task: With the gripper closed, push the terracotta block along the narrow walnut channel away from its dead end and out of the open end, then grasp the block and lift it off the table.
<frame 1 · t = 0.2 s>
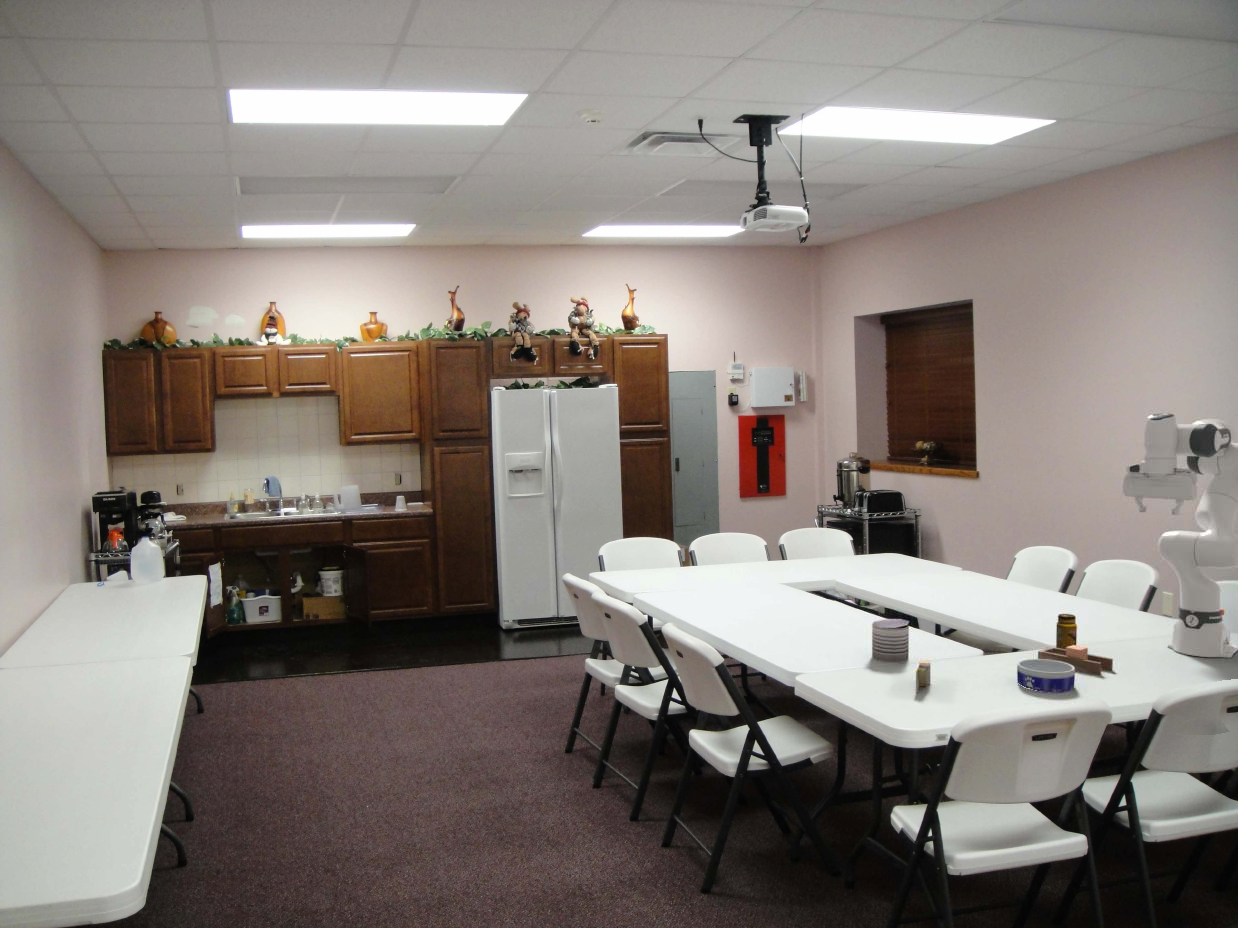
hand: (1158, 513, 298), 48 cm above the table, tool pointing down, fingers open, 8 cm apart
channel: (1082, 667, 303), on the table
model: (923, 690, 284), on the table
can: (890, 659, 317), on the table
dog bowl: (1045, 686, 285), on the table
condiment: (1063, 651, 323), on the table
block: (1076, 666, 305), resting in channel
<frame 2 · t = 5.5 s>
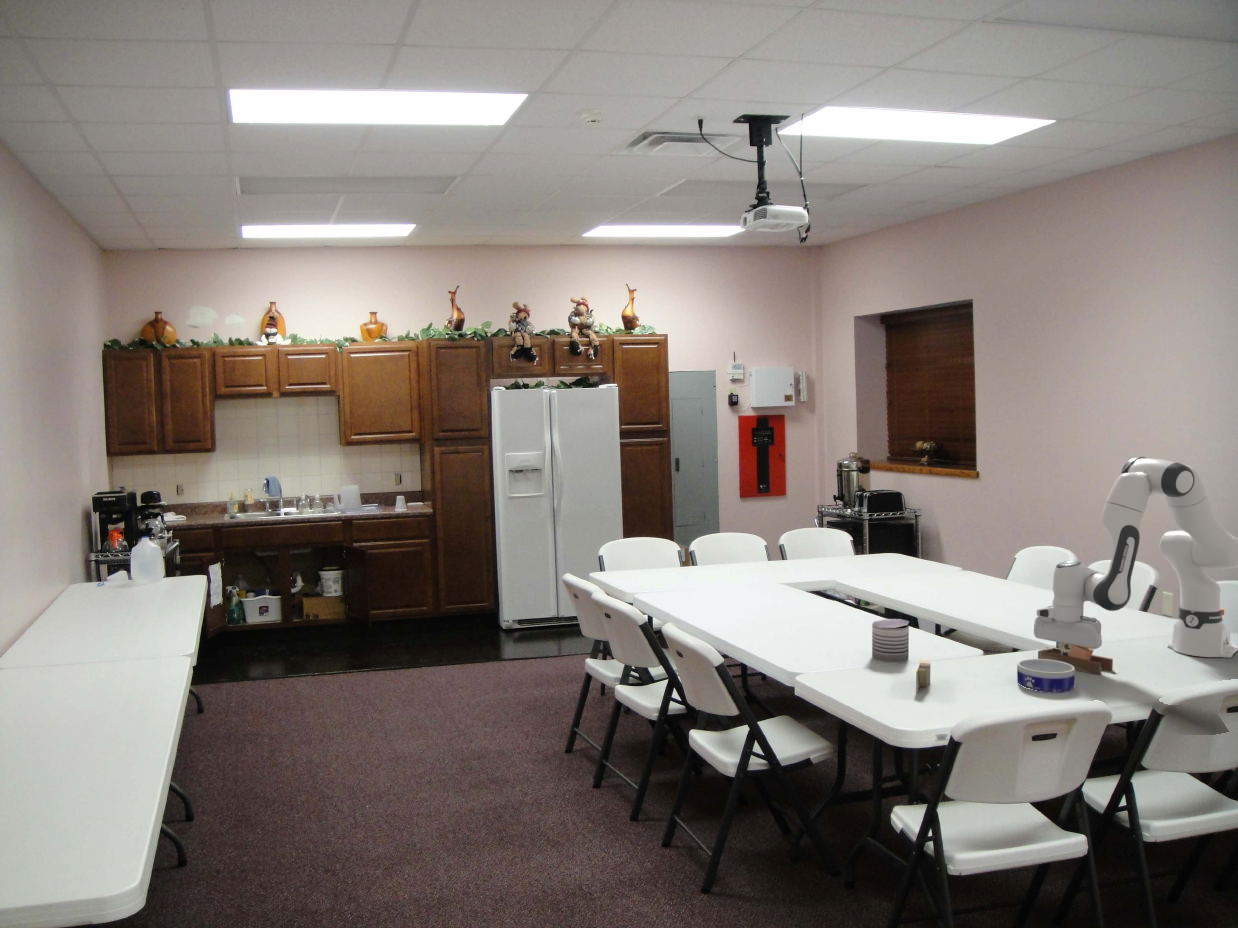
hand: (1066, 657, 307), 2 cm above the table, tool pointing down, fingers closed
block: (1076, 664, 304), point 1 cm above the table, tilted 18°, touching gripper
everything else where it was.
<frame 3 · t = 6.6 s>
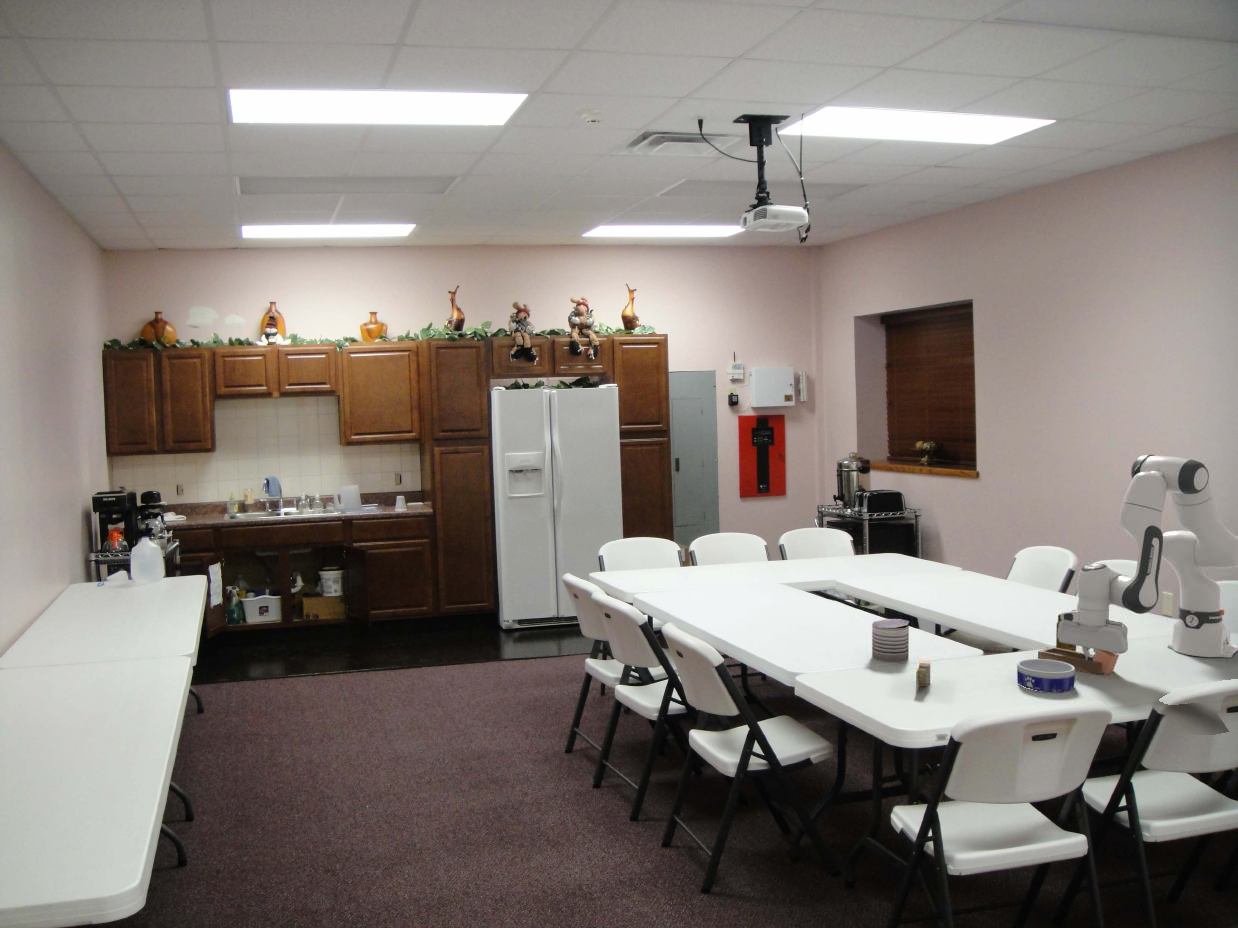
hand: (1091, 662, 301), 2 cm above the table, tool pointing down, fingers closed
block: (1101, 669, 298), point 1 cm above the table, tilted 18°, touching gripper
everything else where it was.
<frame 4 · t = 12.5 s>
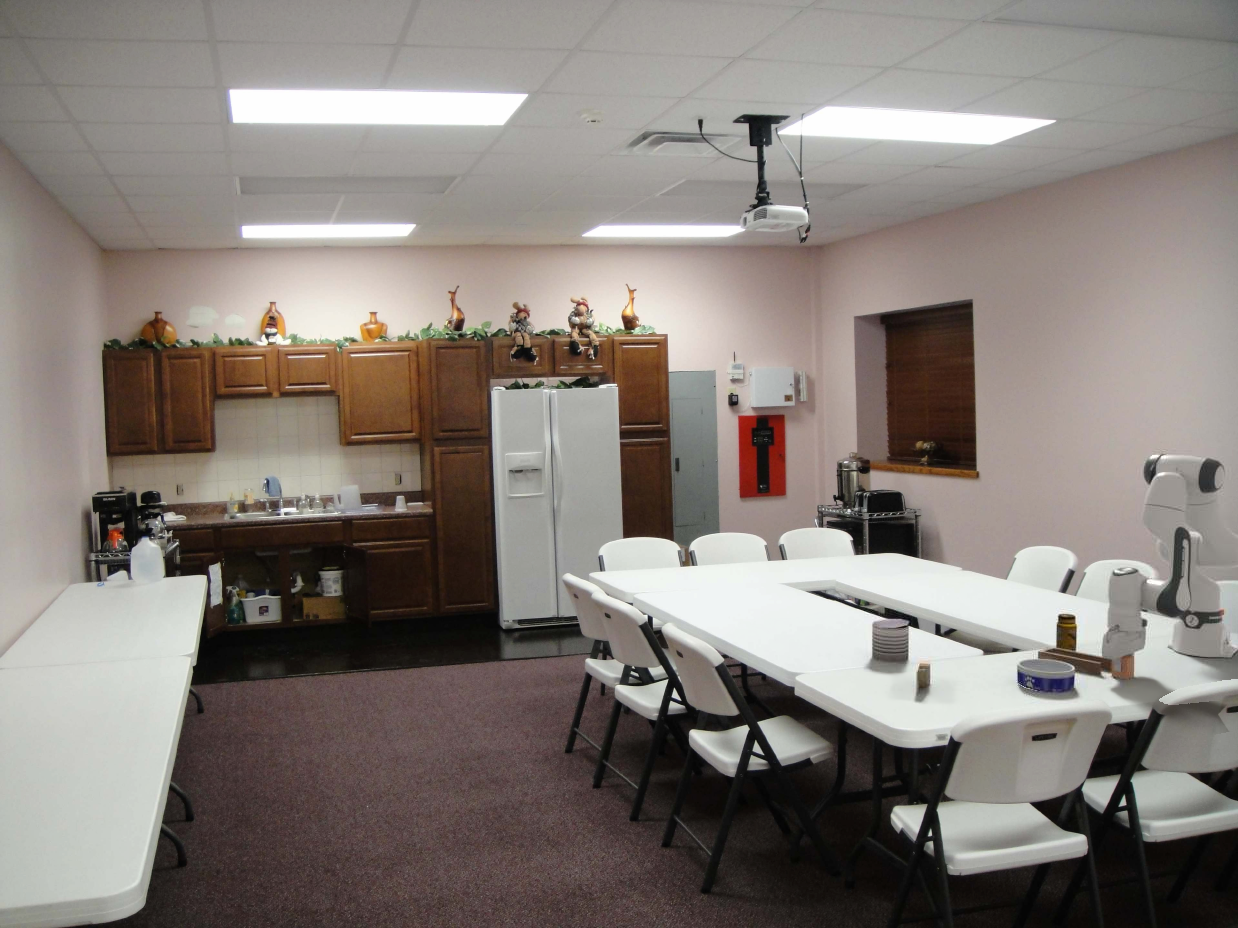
hand: (1122, 668, 294), 2 cm above the table, tool pointing down, fingers closed on block, 4 cm apart
block: (1122, 675, 294), on the table, touching gripper
everything else where it was.
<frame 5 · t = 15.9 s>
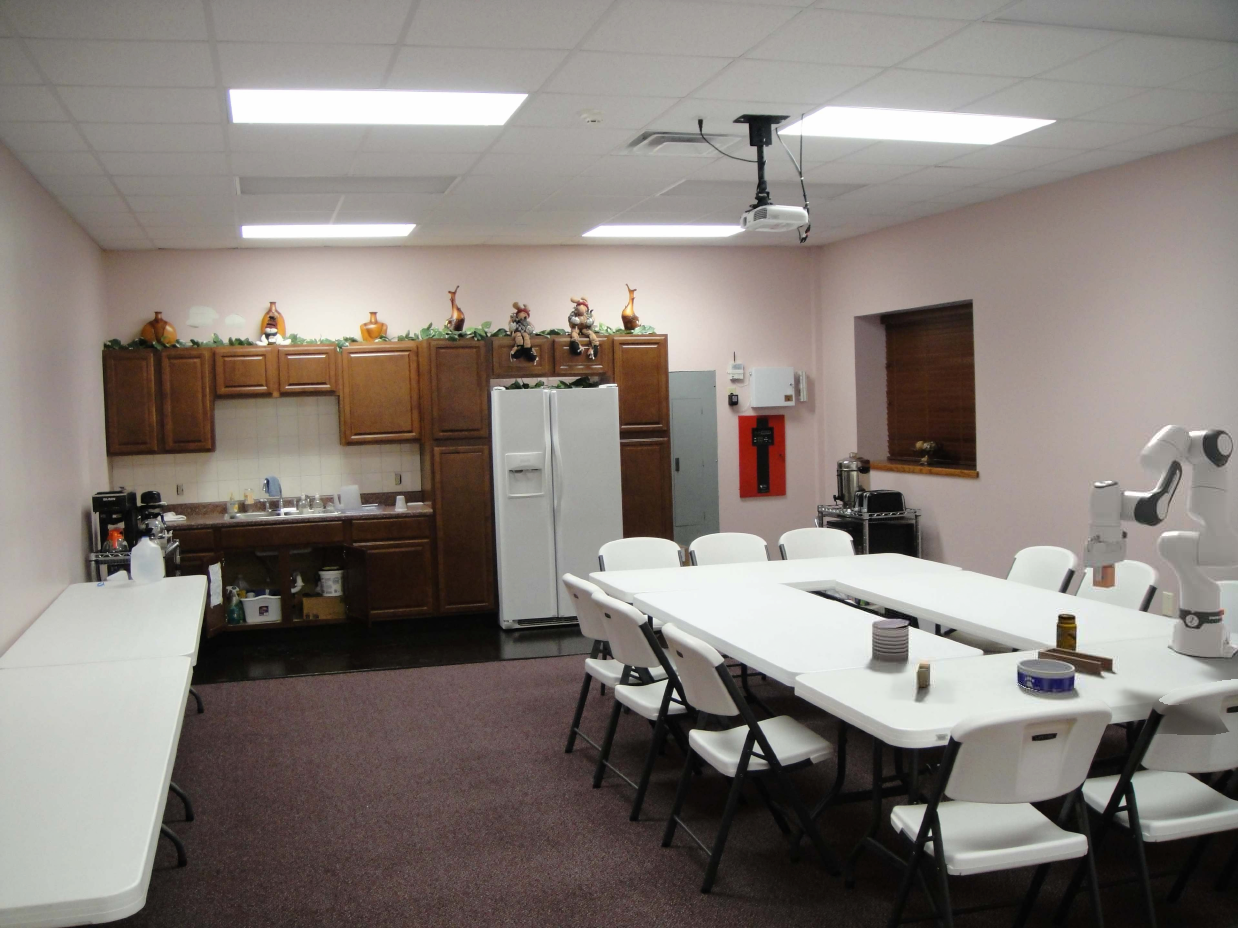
hand: (1103, 579, 303), 27 cm above the table, tool pointing down, fingers closed on block, 4 cm apart
block: (1103, 586, 303), point 25 cm above the table, touching gripper
everything else where it was.
at the end: block point 24.9 cm above the table; the gripper is holding block; block touching gripper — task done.
